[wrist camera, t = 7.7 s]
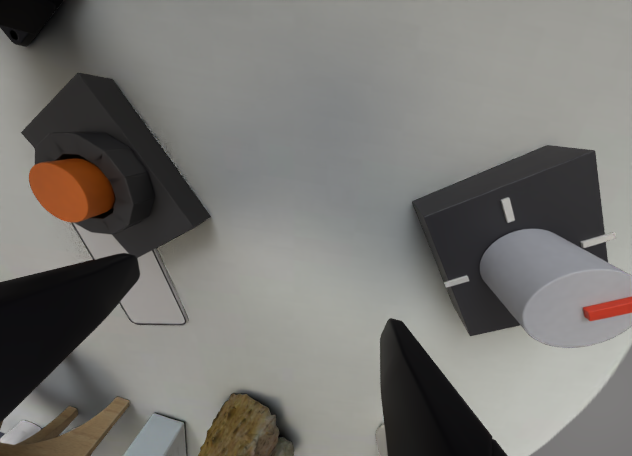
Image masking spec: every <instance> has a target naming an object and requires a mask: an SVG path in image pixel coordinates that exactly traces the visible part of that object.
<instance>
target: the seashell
mask: <svg viewBox="0 0 632 456" xmlns="http://www.w3.org/2000/svg"><path fill="white" fill-rule="evenodd" d="M212 424H213V425H212V426H211V428H210V429H209V430H208V431H207V437H206V440H205V443H204V445H203V446H202V447H201V448H200V449H201V451H200V453H199V454H198V456H294V449H293V444H292V442H290V441H288V440H286V439H285V438H284V437H283V438H278V436H279V429H278V428H277V427H276V415H271V414H270V411H269V408H268V407H266V406H263V405H262V404H260V403H259V401H255V400H254V399H252V398H250V397H249V396H248V395H247V394H244V395H242V394H238V395H235V394H234V393H233V394H232V395H231V396H230V398H229V401H226V402H225V404H224V405H223V406H222V408H221V410H220V412H218V414H217V417H216V418H215V419H214V420H213V423H212Z"/></svg>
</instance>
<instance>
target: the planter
mask: <svg viewBox="0 0 632 456" xmlns="http://www.w3.org/2000/svg"><path fill="white" fill-rule="evenodd" d="M128 407H129V400H126V399H123V398H120V397H118V396H117V397H116V398H115V399H114V400H113V401H112V402H111V404H109V405H108V406H107V407H106V408H105V409H104V410H103V411H101V412H100V413H99V414H97V415H96V416H95V417H93V418H92V419H91V420H89V421H87V422H86V423H84V424H83V425H81V426H79V427H77V428H76V429H74V430H72V431H70V432H67V433H65V434H63V435H61V436H59V435H60V434H61V433H62V431H63V430H64V429H65V428H66V427H67V426H68V425H69V424H70V423H71V422H72V421H73V420H74V419H75V418H76V417H77V416H78V411H77V409H76V408H73V407H71V406H69V407H68V408H66V409H65V410H64V411H63V412H62V413H61V414H60V415H59V416H58V417H57V418H56V419H54V420H53V421H52V422H51V423H49V424H48V425H47V426H46V427H44V428H43V429H41V430H40V431H39V432H37V433H36V434H34V435H33V436H31V437H29V438H27V439H26V440H24V441H22V442H20V443H17V444H15V445H13V444H6V443H1V442H0V456H90V455H91V454H92V452H93V451H94V450H95V449H96V447H97V446H98V445H99V444H100V442H101V441H102V440H103V438H104V437H105V436H106V435H107V433H108V432H109V431H110V430H111V428H112V427H113V426H114V425H115V423H116V422H117V421H118V419H119V418H120V417H121V416H122V414H123V413H124V412H125V411H126V409H127V408H128ZM2 422H3V421H2ZM2 422H1V423H0V428H1V425H2Z"/></svg>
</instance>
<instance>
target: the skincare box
mask: <svg viewBox="0 0 632 456" xmlns="http://www.w3.org/2000/svg"><path fill="white" fill-rule="evenodd" d="M123 456H187V454H186V441H185V428H184V422H180V421H177V420H174V419H170V418H167V417H164V416H161V415H158V414H155V413H153V414H152V416H151V417H150V418H149V420H148V421H147V423H146V424H145V425H144V427H143V428H142V430H141V431H140V432H139V434H138V435H137V437H136V438H135V439H134V441H133V442H132V444H131V445H130V446H129V448H128V449H127V451H126V452H125V453H124V455H123Z"/></svg>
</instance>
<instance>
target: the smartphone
mask: <svg viewBox="0 0 632 456" xmlns="http://www.w3.org/2000/svg"><path fill="white" fill-rule="evenodd" d="M71 224H72V225H73V227H74V229H75V230H76V232H77V234H78V235H79V237H80V239H81V240H82V242H83V244H84V245H85V247H86V249H87V250H88V252H89V254H90V255H91V257H92V259H93V260H95V259H99V258H103V257H107V256H111V255H115V254H120V253H128V252H127V251H126V250H125V249H124V248H123V247H122V246H121V245H120V243H119V242H118V241H117V240H116V239H115V238H114V237H113V236H112V235H111V234H101V233H92V232H89V231H87V230H86V229H84V228H82V227H80V226H79V225H77V224H75V223H73V222H71ZM160 259H161V257H160V254H159V252H158V250H157V248H155V249H154V250H152V251H150V252H148V253H146V254H144V255H142V256H141V257H139V258H138V263H139V269H140V277H139V280H138V281H137V282H136V284H135V285H134V286H133V287H132V288H131V289H130V291H129V292H128V293H127V294H126V295H125V296H124V298H123V299H122V300H121V301H120V302H119V304H120V305H121V307H122V309H123V310H124V312H125V314H126V315H127V317H128V319H129V320H130V321H131V322H132V323H134V324H137V325H185V324H187V322H188V316H187V314H186V312H185V309H184V307H183V305H182V303H181V301H180V298H179V296H178V294H177V292H176V290H175V287H174V285H173V283H172V281H171V279H170V276H169V274H168V272H167V271H166V268H165V265H164V263H163V261H162V259H161V260H160Z"/></svg>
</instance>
